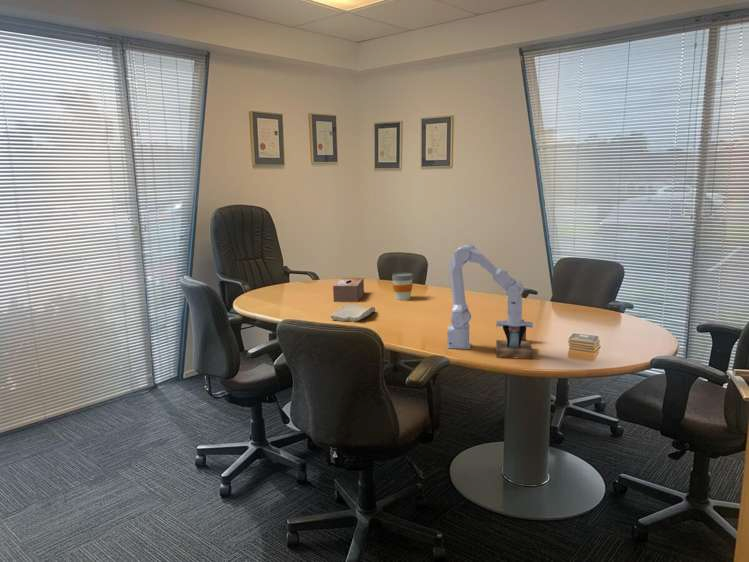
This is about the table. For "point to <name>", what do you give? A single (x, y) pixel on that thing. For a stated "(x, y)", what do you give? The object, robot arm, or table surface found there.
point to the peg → (513, 339)
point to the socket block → (514, 349)
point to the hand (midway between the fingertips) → (513, 343)
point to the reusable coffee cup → (402, 285)
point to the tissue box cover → (348, 289)
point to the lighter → (518, 330)
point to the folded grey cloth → (351, 313)
